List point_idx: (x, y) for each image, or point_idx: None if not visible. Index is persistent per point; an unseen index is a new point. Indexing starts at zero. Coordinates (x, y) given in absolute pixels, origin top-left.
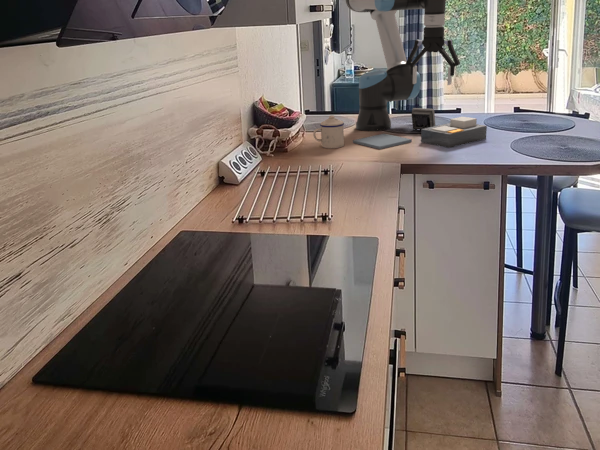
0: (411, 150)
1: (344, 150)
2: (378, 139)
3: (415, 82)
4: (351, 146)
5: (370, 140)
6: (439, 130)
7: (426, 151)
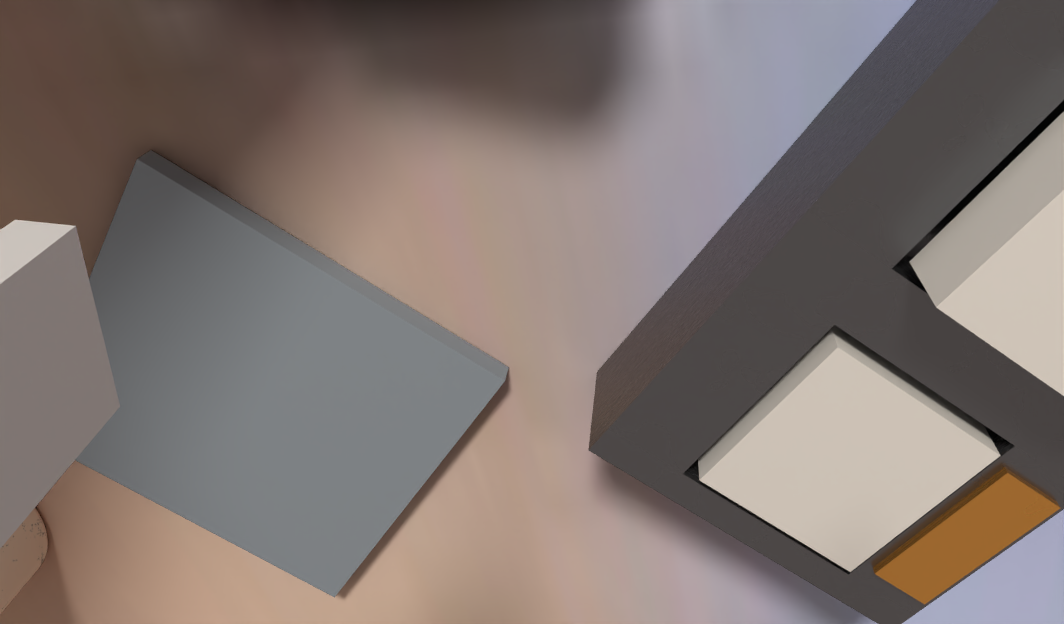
0: (575, 598)
1: (124, 609)
2: (215, 400)
3: (85, 347)
4: (102, 519)
5: (169, 436)
6: (790, 533)
7: (691, 618)
